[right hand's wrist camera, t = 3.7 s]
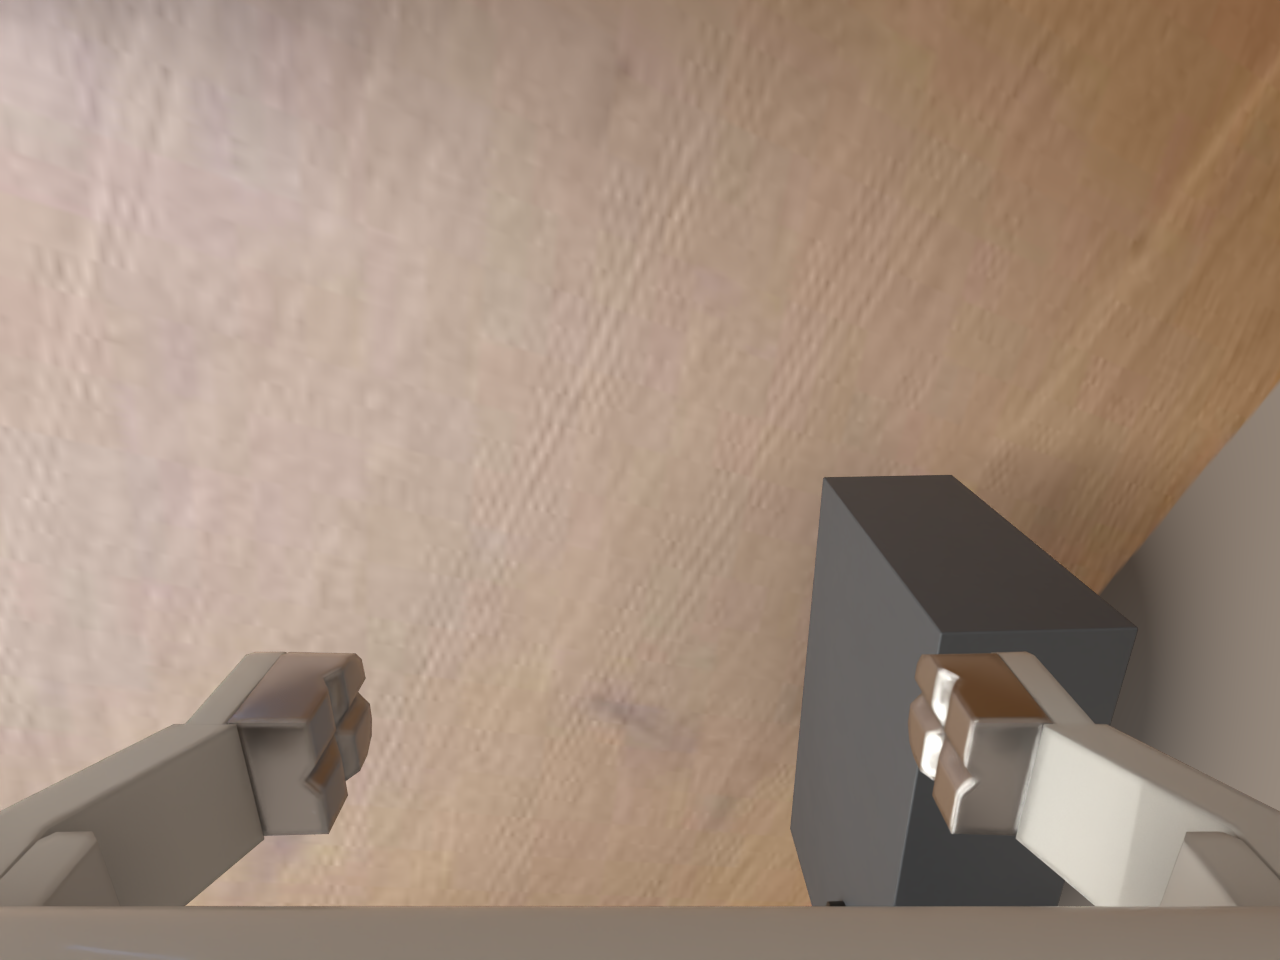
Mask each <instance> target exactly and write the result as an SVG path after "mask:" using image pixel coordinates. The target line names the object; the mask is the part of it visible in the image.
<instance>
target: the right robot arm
mask: <svg viewBox="0 0 1280 960" xmlns="http://www.w3.org/2000/svg"><path fill="white" fill-rule="evenodd" d="M365 679H366V678H365V673H364V668H363V663H362V659H361V658H360V657H359V656H358V655H357V654H356V653H311V652H288V653H286V652H254V653H250V654H247V655H245V657H244V658H243V659H242V660H241V661H240V662H239V663H238V664H237V666H236V667H235V668H234V669H233V670H232V671H231V672H230V673H229V675H228V676H227V677H226V678H225V679H224V680H223V681H222V683H221V684H220V685H219V686H218V687H217V688H216V689H215V690H214V692H213V693H212V694H211V695H210V696H209V697H208V698H207V700H206V701H205V702H204V703H203V704H202V705H201V706H200V707H199V709H198V710H197V711H196V712H195V713H194V714H193V715H192V717H191V718H190V719H189V720H188V721H187V722H186V723H185V724H173V725H171V726H169V727H167V728H165V729H163V730H161V731H159V732H157V733H155V734H153V735H151V736H149V737H147V738H145V739H143V740H141V741H139V742H137V743H135V744H133V745H131V746H129V747H127V748H125V749H123V750H121V751H119V752H117V753H115V754H113V755H111V756H109V757H107V758H105V759H103V760H101V761H99V762H97V763H95V764H93V765H91V766H89V767H87V768H85V769H83V770H81V771H79V772H77V773H75V774H73V775H71V776H69V777H67V778H65V779H63V780H61V781H59V782H57V783H55V784H53V785H51V786H49V787H47V788H45V789H43V790H42V791H40V792H38V793H36V794H34V795H32V796H30V797H28V798H26V799H24V800H22V801H20V802H18V803H16V804H14V805H12V806H10V807H8V808H6V809H4V810H2V811H0V960H1280V811H1278V810H1276V809H1274V808H1272V807H1270V806H1268V805H1266V804H1264V803H1262V802H1260V801H1258V800H1256V799H1254V798H1252V797H1250V796H1248V795H1246V794H1244V793H1242V792H1240V791H1238V790H1236V789H1234V788H1232V787H1230V786H1228V785H1226V784H1224V783H1222V782H1220V781H1218V780H1216V779H1214V778H1212V777H1210V776H1208V775H1206V774H1204V773H1202V772H1200V771H1198V770H1196V769H1194V768H1192V767H1191V766H1189V765H1187V764H1184V763H1183V762H1181V761H1179V760H1177V759H1175V758H1173V757H1171V756H1169V755H1167V754H1165V753H1163V752H1161V751H1159V750H1157V749H1155V748H1153V747H1151V746H1149V745H1147V744H1145V743H1143V742H1141V741H1139V740H1137V739H1135V738H1133V737H1131V736H1129V735H1127V734H1125V733H1123V732H1121V731H1119V730H1117V729H1115V728H1113V727H1111V726H1109V725H1107V724H1095V723H1094V722H1093V721H1092V720H1091V719H1090V718H1089V717H1088V715H1087V714H1086V713H1085V712H1084V711H1083V710H1082V709H1081V707H1080V706H1079V705H1078V704H1077V703H1076V702H1075V701H1074V700H1073V698H1072V697H1071V696H1070V695H1069V694H1068V693H1067V692H1066V690H1065V689H1064V688H1063V687H1062V686H1061V685H1060V684H1059V683H1058V681H1057V680H1056V679H1055V678H1054V677H1053V676H1052V675H1051V673H1050V672H1049V671H1048V670H1047V669H1046V668H1045V667H1044V666H1043V664H1042V663H1041V662H1040V661H1039V660H1038V659H1037V658H1036V656H1034V655H1033V654H1030V653H1028V652H1026V651H1023V652H993V653H977V654H922V655H921V657H920V659H919V661H918V663H917V667H916V672H915V680H916V682H917V684H918V686H919V687H920V689H921V691H922V693H921V694H920V695H919V696H918V697H917V698H916V699H915V700H914V701H913V702H912V703H911V704H910V710H909V718H908V731H909V743H910V746H911V750H912V753H913V757H914V759H915V761H916V763H917V765H918V767H919V770H920V771H921V772H922V773H924V774H925V775H927V776H928V777H930V778H931V779H932V780H934V781H935V782H934V787H933V793H932V796H933V798H934V800H935V802H936V804H937V806H938V808H939V810H940V812H941V814H942V816H943V818H944V820H945V822H946V824H947V826H948V828H949V830H950V832H951V834H972V835H1008V836H1016V839H1017V840H1018V841H1019V842H1020V843H1021V844H1022V845H1024V846H1025V847H1026V848H1027V849H1028V850H1030V851H1031V852H1032V853H1033V854H1034V855H1036V856H1037V857H1038V858H1039V859H1040V860H1041V861H1043V862H1044V863H1045V864H1046V865H1047V866H1049V867H1050V868H1051V869H1052V870H1053V871H1054V872H1056V873H1057V874H1058V875H1059V876H1060V877H1062V878H1063V879H1064V880H1065V881H1066V882H1068V883H1069V884H1070V885H1071V886H1072V887H1073V888H1075V889H1076V890H1077V891H1078V892H1079V893H1081V894H1082V895H1083V896H1084V897H1085V898H1086V899H1088V900H1089V901H1090V902H1091V903H1092V904H1094V905H1095V906H767V907H725V906H185V905H187V904H188V903H189V902H190V901H191V900H193V899H194V898H195V897H196V896H197V895H198V894H200V893H201V892H202V891H203V890H204V889H206V888H207V887H208V886H209V885H210V884H212V883H213V882H214V881H215V880H216V879H217V878H219V877H220V876H221V875H222V874H223V873H225V872H226V871H227V870H228V869H229V868H231V867H232V866H233V865H234V864H235V863H237V862H238V861H239V860H240V859H241V858H242V857H244V856H245V855H246V854H247V853H248V852H250V851H251V850H252V849H253V848H254V847H256V846H257V845H258V844H259V843H260V842H261V841H263V840H264V836H272V835H306V834H329V832H330V830H331V828H332V826H333V824H334V822H335V820H336V818H337V816H338V814H339V812H340V810H341V808H342V806H343V804H344V802H345V800H346V798H347V796H348V793H347V787H346V780H348V779H349V778H351V777H352V776H353V775H355V774H356V773H358V772H359V771H360V770H361V767H362V765H363V763H364V761H365V759H366V757H367V754H368V749H369V745H370V740H371V736H372V716H371V709H370V704H369V703H368V702H367V701H366V700H365V699H364V698H363V697H362V696H361V695H360V694H359V693H358V691H359V689H360V687H361V686H362V684H363V682H364V680H365Z"/></svg>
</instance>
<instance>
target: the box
mask: <svg viewBox="0 0 1280 960" xmlns="http://www.w3.org/2000/svg"><path fill="white" fill-rule="evenodd" d="M1137 631H1138V628H1137V627H1136V626H1135V625H1134V624H1132V623H1131V622H1130V621H1129V620H1128V619H1126V618H1125V617H1124V616H1123V615H1122V614H1120V613H1119V612H1118V611H1117V610H1115V609H1114V608H1113V607H1112V606H1111V605H1109V604H1108V603H1107V602H1106V601H1104V600H1103V599H1102V598H1101V597H1100V596H1098V595H1097V594H1096V593H1095V592H1093V591H1092V590H1091V589H1090V588H1089V587H1087V586H1086V585H1085V584H1084V583H1083V582H1081V581H1080V580H1079V579H1078V578H1076V577H1075V576H1074V575H1073V574H1072V573H1070V572H1069V571H1068V570H1067V569H1065V568H1064V567H1063V566H1062V565H1061V564H1059V563H1058V562H1057V561H1056V560H1055V559H1053V558H1052V557H1051V556H1050V555H1048V554H1047V553H1046V552H1045V551H1044V550H1042V549H1041V548H1040V547H1039V546H1037V545H1036V544H1035V543H1034V542H1033V541H1031V540H1030V539H1029V538H1028V537H1026V536H1025V535H1024V534H1023V533H1022V532H1020V531H1019V530H1018V529H1017V528H1016V527H1014V526H1013V525H1012V524H1011V523H1009V522H1008V521H1007V520H1006V519H1005V518H1003V517H1002V516H1001V515H1000V514H998V513H997V512H996V511H995V510H994V509H992V508H991V507H990V506H989V505H988V504H986V503H985V502H984V501H983V500H981V499H980V498H979V497H978V496H977V495H975V494H974V493H973V492H972V491H970V490H969V489H968V488H967V487H966V486H964V485H963V484H962V483H961V482H959V481H958V480H957V479H956V478H955V477H953V476H952V475H925V476H873V477H825V478H823V487H822V498H821V508H820V519H819V529H818V540H817V551H816V561H815V572H814V582H813V593H812V604H811V614H810V625H809V636H808V646H807V657H806V667H805V678H804V689H803V699H802V710H801V720H800V731H799V742H798V752H797V763H796V774H795V784H794V795H793V805H792V816H791V827H790V829H791V833H792V837H793V840H794V844H795V847H796V851H797V854H798V858H799V861H800V865H801V868H802V872H803V875H804V879H805V882H806V886H807V890H808V893H809V897H810V900H811V904H812V906H826V903H827V901H844V903H845V905H846V906H1058V903H1059V900H1060V896H1061V893H1062V889H1063V886H1064V882H1065V880H1064V879H1063V878H1062V877H1060V876H1059V875H1058V874H1057V873H1056V872H1054V871H1053V870H1052V869H1051V868H1050V867H1049V866H1047V865H1046V864H1045V863H1044V862H1043V861H1041V860H1040V859H1039V858H1038V857H1037V856H1036V855H1034V854H1033V853H1032V852H1031V851H1030V850H1028V849H1027V848H1026V847H1025V846H1024V845H1022V844H1021V843H1020V842H1019V841H1018V840H1017V839H1016V836H1008V835H972V834H951V832H950V830H949V828H948V826H947V824H946V822H945V820H944V818H943V816H942V814H941V812H940V810H939V808H938V806H937V804H936V802H935V800H934V798H933V796H932V793H933V787H934V782H935V781H934V780H932V779H931V778H930V777H928V776H927V775H925V774H924V773H922V772H921V771H920V770H919V767H918V765H917V763H916V761H915V759H914V757H913V753H912V750H911V746H910V743H909V731H908V718H909V710H910V704H911V703H912V702H913V701H914V700H915V699H916V698H917V697H918V696H919V695H920V694H921V693H922V691H921V689H920V687H919V686H918V684H917V682H916V680H915V672H916V667H917V663H918V661H919V659H920V657H921V655H922V654H977V653H993V652H1023V651H1026V652H1028V653H1030V654H1033V655H1034V656H1036V658H1037V659H1038V660H1039V661H1040V662H1041V663H1042V664H1043V666H1044V667H1045V668H1046V669H1047V670H1048V671H1049V672H1050V673H1051V675H1052V676H1053V677H1054V678H1055V679H1056V680H1057V681H1058V683H1059V684H1060V685H1061V686H1062V687H1063V688H1064V689H1065V690H1066V692H1067V693H1068V694H1069V695H1070V696H1071V697H1072V698H1073V700H1074V701H1075V702H1076V703H1077V704H1078V705H1079V706H1080V707H1081V709H1082V710H1083V711H1084V712H1085V713H1086V714H1087V715H1088V717H1089V718H1090V719H1091V720H1092V721H1093V722H1094V723H1095V724H1107V725H1109V726H1110V724H1111V721H1112V717H1113V714H1114V710H1115V707H1116V704H1117V700H1118V697H1119V693H1120V690H1121V686H1122V683H1123V680H1124V676H1125V673H1126V669H1127V665H1128V662H1129V659H1130V656H1131V652H1132V649H1133V645H1134V642H1135V638H1136V635H1137Z"/></svg>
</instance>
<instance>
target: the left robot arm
mask: <svg viewBox="0 0 1280 960" xmlns="http://www.w3.org/2000/svg"><path fill="white" fill-rule="evenodd" d="M826 906H846V905H845V903H844V901H827V903H826Z"/></svg>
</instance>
